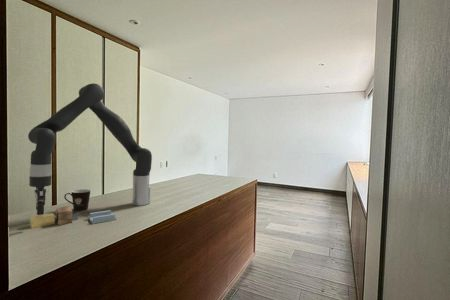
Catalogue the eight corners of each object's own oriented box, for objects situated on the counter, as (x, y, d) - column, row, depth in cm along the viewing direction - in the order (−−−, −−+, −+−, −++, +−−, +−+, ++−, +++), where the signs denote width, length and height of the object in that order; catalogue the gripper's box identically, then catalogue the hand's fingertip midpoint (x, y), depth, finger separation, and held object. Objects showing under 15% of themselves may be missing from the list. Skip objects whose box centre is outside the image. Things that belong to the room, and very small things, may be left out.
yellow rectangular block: (52, 221, 108) (52, 213, 108) (54, 224, 106) (54, 215, 106) (29, 226, 103) (29, 216, 102) (31, 228, 100) (31, 219, 100)
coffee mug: (93, 208, 130) (94, 190, 130) (80, 212, 122) (80, 193, 121) (76, 205, 133) (77, 188, 133) (62, 210, 125) (62, 191, 125)
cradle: (110, 215, 121) (111, 209, 120) (116, 219, 114) (116, 214, 114) (88, 218, 114) (88, 213, 114) (92, 223, 108) (92, 218, 108)
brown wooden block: (69, 217, 114) (69, 206, 114) (71, 222, 108) (72, 210, 107) (56, 219, 111) (56, 207, 111) (58, 225, 104) (58, 212, 104)
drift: (75, 218, 115) (75, 212, 114) (77, 219, 113) (77, 213, 113) (53, 222, 108) (53, 216, 108) (55, 224, 106) (55, 217, 106)
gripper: (53, 176, 100) (52, 215, 100) (50, 172, 111) (49, 207, 111) (30, 177, 95) (28, 218, 95) (29, 172, 106) (28, 209, 106)
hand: (39, 212), depth 103 cm, fingers open, 8 cm apart
